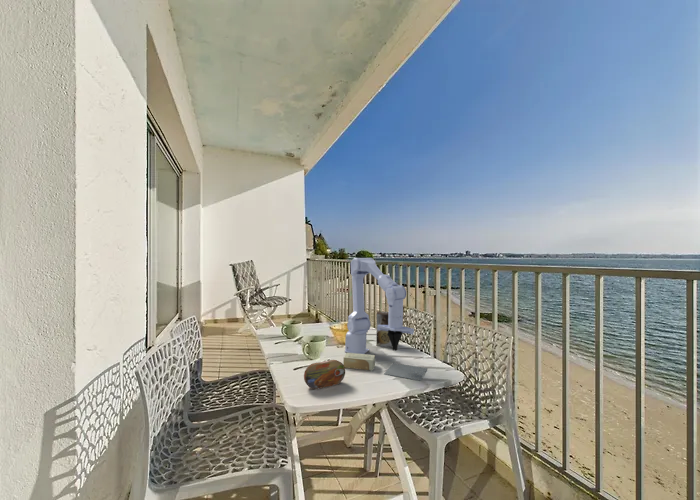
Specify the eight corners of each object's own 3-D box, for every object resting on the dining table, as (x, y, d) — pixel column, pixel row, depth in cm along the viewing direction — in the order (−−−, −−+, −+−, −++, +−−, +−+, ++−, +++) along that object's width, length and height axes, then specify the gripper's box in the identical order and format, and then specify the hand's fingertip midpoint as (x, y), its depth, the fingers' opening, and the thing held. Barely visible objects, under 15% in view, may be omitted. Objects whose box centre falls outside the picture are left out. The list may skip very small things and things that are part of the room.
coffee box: (394, 343, 163) (394, 311, 163) (394, 347, 157) (395, 314, 156) (376, 342, 164) (376, 311, 164) (375, 346, 158) (376, 313, 157)
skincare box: (375, 365, 132) (346, 362, 135) (375, 354, 132) (346, 352, 134) (372, 371, 125) (342, 368, 128) (372, 360, 125) (342, 357, 128)
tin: (305, 391, 107) (306, 366, 107) (302, 387, 110) (303, 363, 110) (345, 383, 114) (346, 359, 114) (341, 380, 117) (342, 357, 117)
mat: (384, 374, 122) (384, 373, 122) (393, 363, 134) (393, 362, 134) (420, 381, 117) (420, 380, 117) (426, 368, 129) (427, 368, 129)
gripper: (375, 316, 127) (374, 350, 127) (411, 319, 121) (410, 355, 121) (380, 312, 133) (380, 345, 133) (415, 316, 127) (414, 350, 127)
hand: (395, 349), depth 127 cm, fingers closed
